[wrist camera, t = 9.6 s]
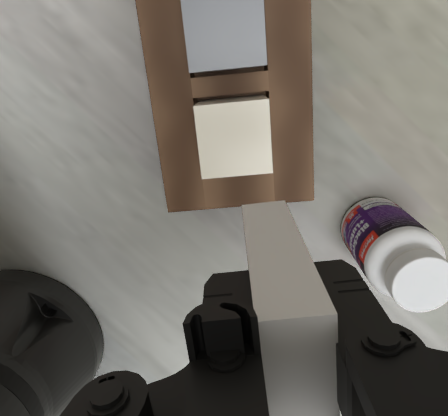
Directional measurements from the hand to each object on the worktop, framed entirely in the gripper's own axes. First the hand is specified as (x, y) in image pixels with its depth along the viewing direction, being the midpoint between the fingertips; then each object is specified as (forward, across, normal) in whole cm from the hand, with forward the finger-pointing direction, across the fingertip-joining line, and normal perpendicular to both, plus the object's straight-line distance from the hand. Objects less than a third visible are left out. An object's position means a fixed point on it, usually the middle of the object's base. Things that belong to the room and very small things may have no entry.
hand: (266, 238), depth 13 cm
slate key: (+16, 0, +8) cm, 18 cm away
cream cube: (+16, -1, +2) cm, 16 cm away
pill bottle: (+18, +10, -8) cm, 22 cm away
